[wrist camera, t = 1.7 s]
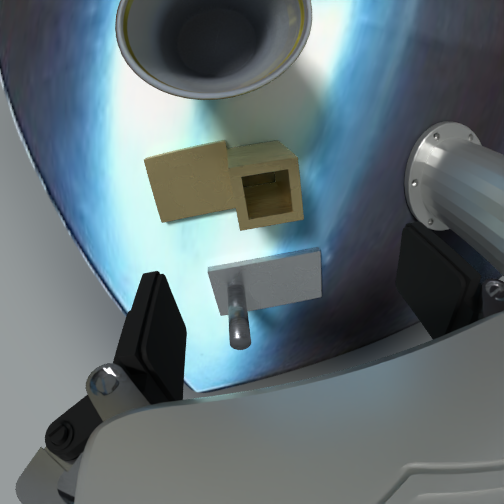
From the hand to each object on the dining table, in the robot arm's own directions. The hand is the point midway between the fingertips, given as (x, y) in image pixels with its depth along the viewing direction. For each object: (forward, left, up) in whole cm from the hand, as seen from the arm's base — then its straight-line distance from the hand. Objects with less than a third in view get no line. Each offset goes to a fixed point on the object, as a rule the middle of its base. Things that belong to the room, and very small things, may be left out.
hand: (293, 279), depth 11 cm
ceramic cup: (+1, -13, -17) cm, 21 cm away
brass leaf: (+3, 0, -16) cm, 17 cm away
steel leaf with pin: (0, +12, -16) cm, 20 cm away
